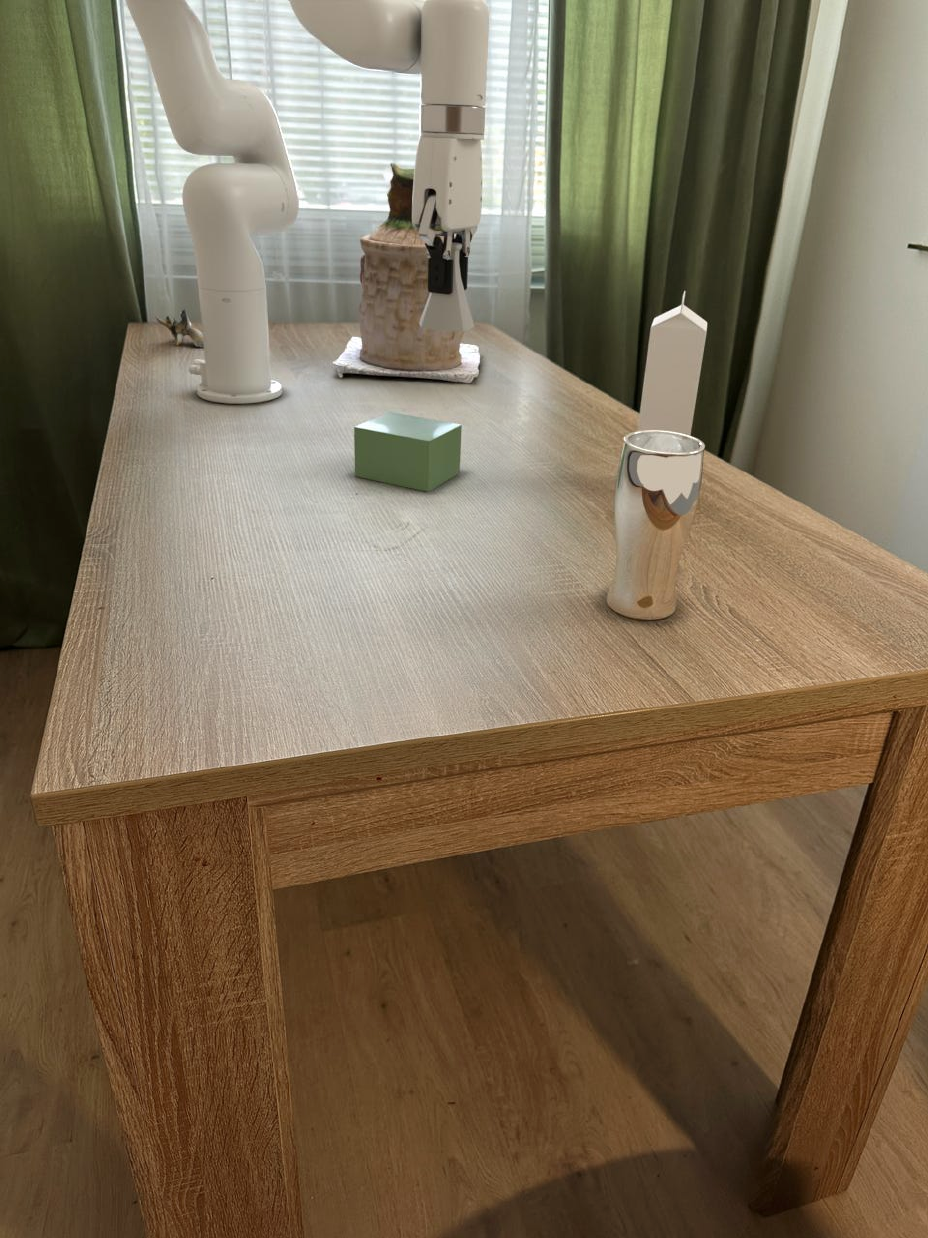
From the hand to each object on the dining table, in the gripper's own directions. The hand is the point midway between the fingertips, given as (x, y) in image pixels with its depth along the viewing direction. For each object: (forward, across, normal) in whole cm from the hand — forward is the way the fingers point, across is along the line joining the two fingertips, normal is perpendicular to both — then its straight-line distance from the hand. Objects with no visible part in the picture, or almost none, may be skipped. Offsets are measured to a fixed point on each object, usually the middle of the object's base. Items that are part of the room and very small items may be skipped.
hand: (447, 289), depth 115 cm
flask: (+5, 0, 0) cm, 5 cm away
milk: (+20, +2, +30) cm, 36 cm away
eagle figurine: (+19, -26, -68) cm, 75 cm away
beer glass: (+20, +34, +38) cm, 55 cm away
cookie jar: (+19, -36, -26) cm, 48 cm away
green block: (+19, +15, +3) cm, 25 cm away
